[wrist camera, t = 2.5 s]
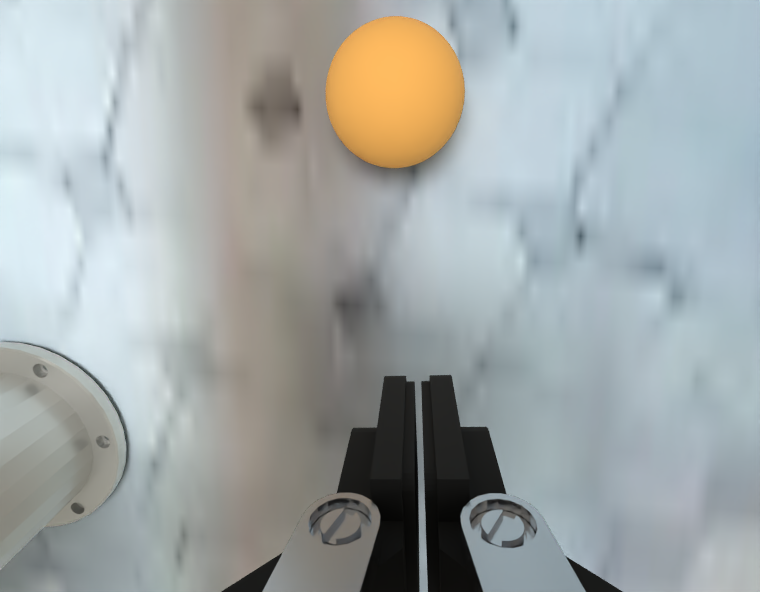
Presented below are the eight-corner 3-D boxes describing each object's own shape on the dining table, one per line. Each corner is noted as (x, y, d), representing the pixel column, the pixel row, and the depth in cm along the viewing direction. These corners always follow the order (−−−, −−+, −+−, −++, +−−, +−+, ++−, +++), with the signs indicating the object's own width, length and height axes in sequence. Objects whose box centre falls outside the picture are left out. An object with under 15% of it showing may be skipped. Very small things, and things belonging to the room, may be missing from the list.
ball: (341, 171, 24) (320, 172, 18) (331, 43, 22) (305, -1, 16) (457, 164, 23) (473, 163, 18) (456, 34, 22) (474, -14, 16)
